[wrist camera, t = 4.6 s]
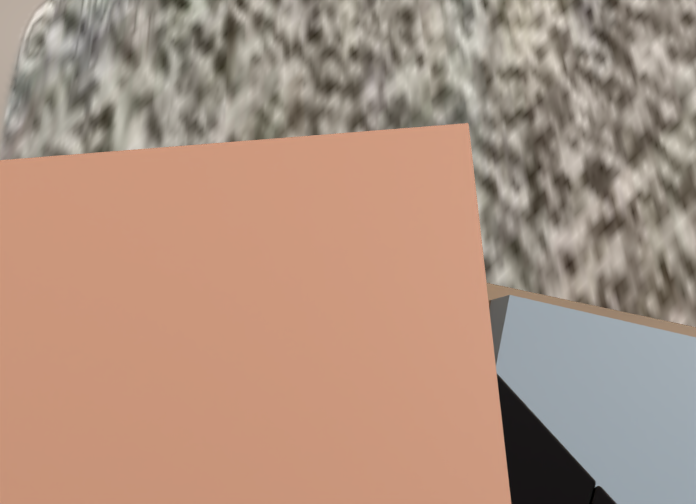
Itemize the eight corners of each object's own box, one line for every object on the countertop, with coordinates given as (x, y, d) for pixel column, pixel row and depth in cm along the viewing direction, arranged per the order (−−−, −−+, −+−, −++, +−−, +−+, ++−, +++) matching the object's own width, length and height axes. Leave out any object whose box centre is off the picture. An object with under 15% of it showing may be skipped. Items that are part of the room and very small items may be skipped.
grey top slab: (685, 595, 18) (736, 634, 16) (444, 534, 19) (458, 563, 16) (719, 352, 20) (771, 354, 17) (491, 299, 20) (509, 294, 18)
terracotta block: (400, 488, 14) (587, 1175, 3) (204, 502, 14) (-500, 1240, 3) (383, 292, 15) (468, 124, 3) (198, 307, 15) (-369, 189, 3)
